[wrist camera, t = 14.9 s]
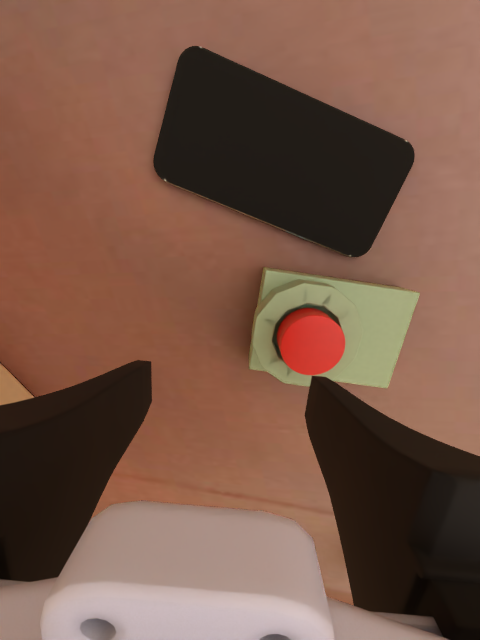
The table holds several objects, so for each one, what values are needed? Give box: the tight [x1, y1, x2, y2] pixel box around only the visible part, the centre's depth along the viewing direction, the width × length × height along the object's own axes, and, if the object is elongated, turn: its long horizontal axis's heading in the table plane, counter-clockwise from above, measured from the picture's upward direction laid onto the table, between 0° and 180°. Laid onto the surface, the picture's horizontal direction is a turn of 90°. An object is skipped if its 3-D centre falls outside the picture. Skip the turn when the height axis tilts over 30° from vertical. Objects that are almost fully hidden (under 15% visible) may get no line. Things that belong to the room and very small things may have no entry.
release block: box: [249, 267, 420, 388], centre depth 18 cm, size 10×7×4 cm
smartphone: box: [153, 46, 414, 257], centre depth 16 cm, size 7×1×15 cm
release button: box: [277, 308, 345, 375], centre depth 15 cm, size 4×4×2 cm
